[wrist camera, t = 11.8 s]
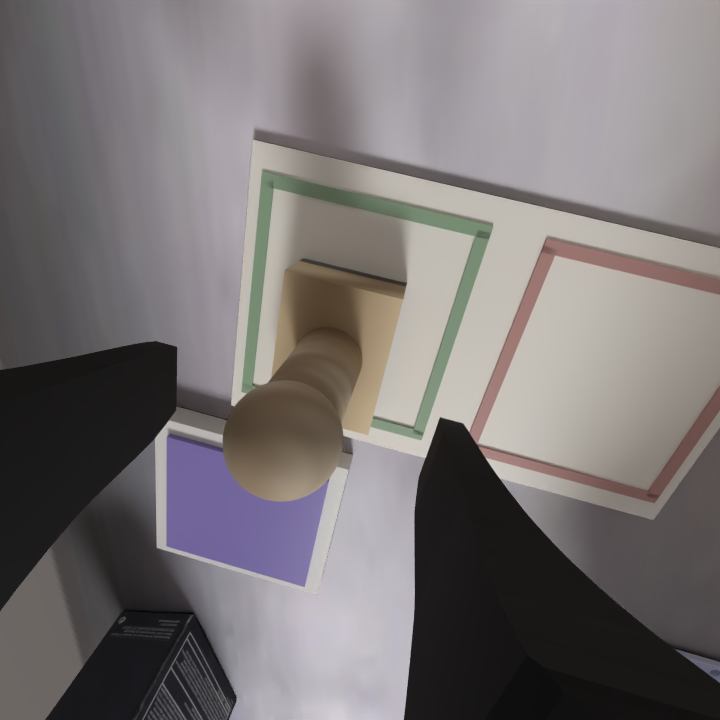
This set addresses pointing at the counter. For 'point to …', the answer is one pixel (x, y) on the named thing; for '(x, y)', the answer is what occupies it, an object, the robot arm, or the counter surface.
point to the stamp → (314, 380)
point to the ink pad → (238, 509)
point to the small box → (149, 674)
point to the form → (503, 324)
